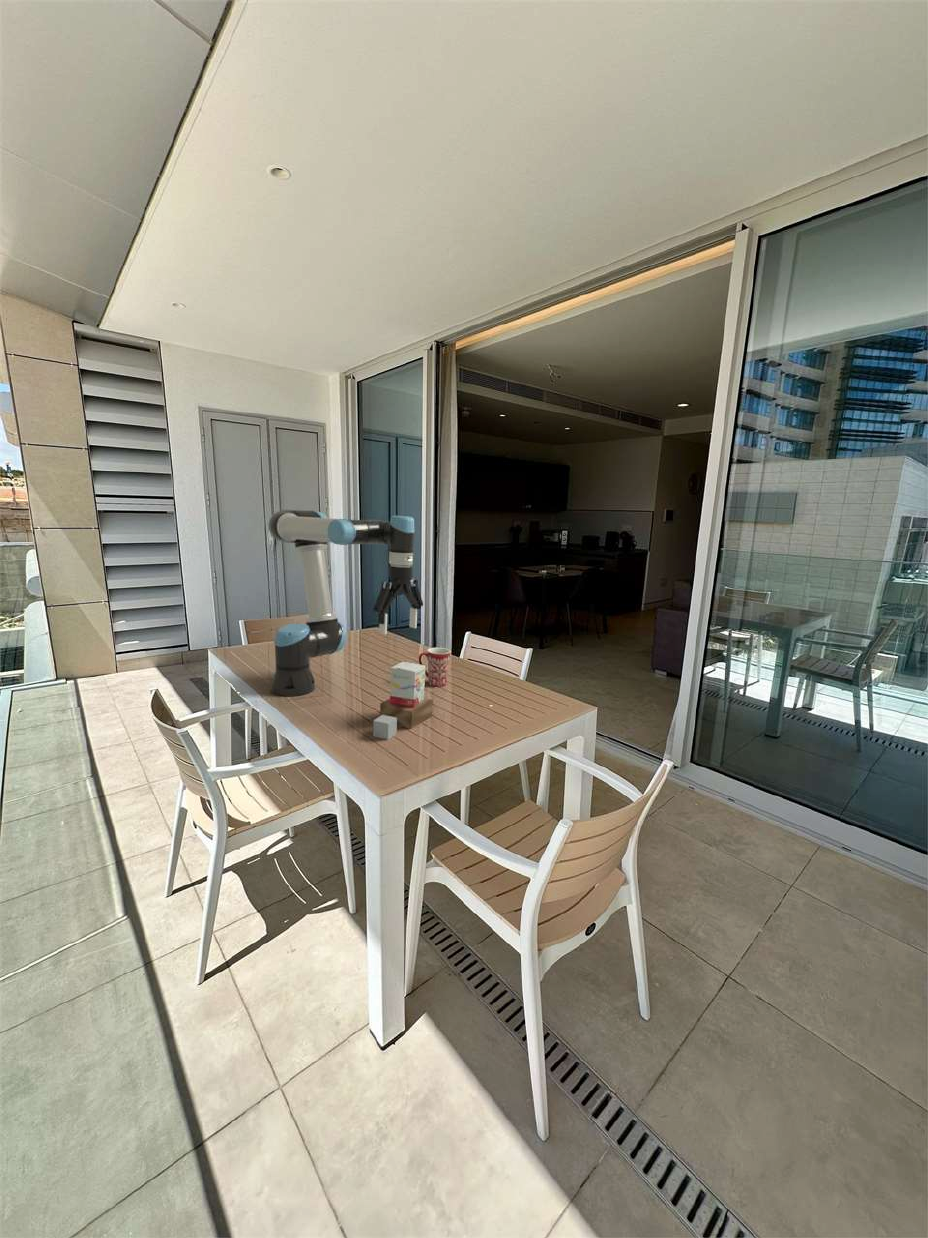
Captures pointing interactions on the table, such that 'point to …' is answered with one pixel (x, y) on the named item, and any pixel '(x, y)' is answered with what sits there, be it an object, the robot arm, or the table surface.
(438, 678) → the mug
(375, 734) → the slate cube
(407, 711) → the walnut block
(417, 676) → the ink box
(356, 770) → the table surface
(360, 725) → the table surface
